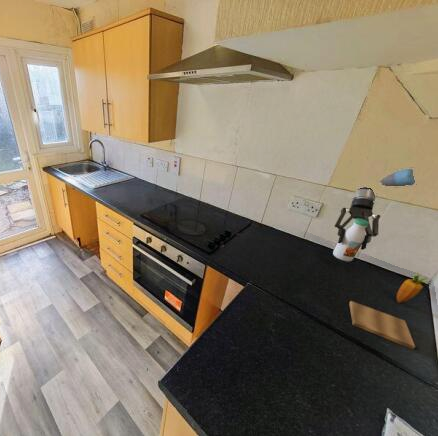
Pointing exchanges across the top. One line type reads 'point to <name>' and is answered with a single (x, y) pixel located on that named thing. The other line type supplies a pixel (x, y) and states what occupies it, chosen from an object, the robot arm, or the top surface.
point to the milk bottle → (351, 241)
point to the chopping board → (381, 324)
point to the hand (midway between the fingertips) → (351, 245)
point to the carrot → (409, 289)
